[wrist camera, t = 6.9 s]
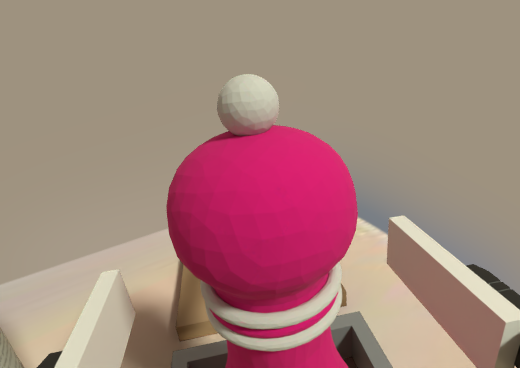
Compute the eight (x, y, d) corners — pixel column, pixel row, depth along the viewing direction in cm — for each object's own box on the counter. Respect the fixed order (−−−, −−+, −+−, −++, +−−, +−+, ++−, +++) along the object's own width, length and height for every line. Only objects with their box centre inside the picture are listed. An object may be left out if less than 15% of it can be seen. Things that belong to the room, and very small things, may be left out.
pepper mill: (201, 478, 17) (64, 97, 9) (288, 377, 21) (249, 66, 13) (312, 640, 12) (226, 103, 4) (394, 464, 16) (432, 50, 8)
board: (179, 341, 25) (175, 327, 24) (188, 254, 36) (186, 243, 35) (346, 305, 26) (346, 291, 26) (305, 232, 37) (305, 221, 37)
